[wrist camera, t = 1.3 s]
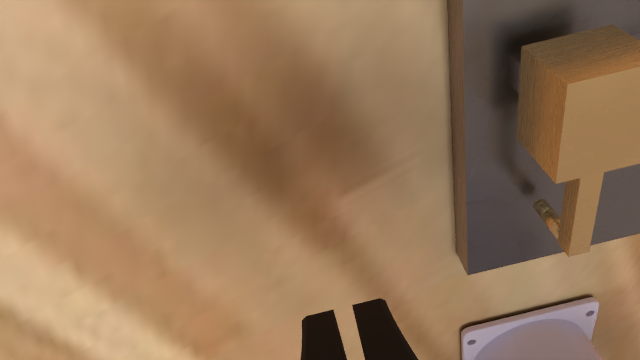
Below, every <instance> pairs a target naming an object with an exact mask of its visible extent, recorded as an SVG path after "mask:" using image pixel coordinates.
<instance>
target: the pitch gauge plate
mask: <svg viewBox="0 0 640 360" xmlns="http://www.w3.org/2000/svg"><path fill="white" fill-rule="evenodd" d="M447 2H448V30H449V58H450V85H451V113H452V141H453V168H454V196H455V224H456V252H457V255H458V257H459V259H460V261H461V263H462V265H463V267H464V269H465V271H466V273H467V275H470V274H474V273H479V272H483V271H487V270H491V269H495V268H499V267H503V266H507V265H512V264H516V263H520V262H524V261H528V260H532V259H536V258H540V257H544V256H549V255H553V254H557V253H561V252H564V250H563V249H562V248H561V246H560V245H559V244H558V240H557V239H556V237H555V236H554V235H553V233H552V232H551V231H550V229H549V228H548V227H547V225H546V224H545V223H544V221H543V220H542V219H541V217H540V216H539V215H538V213H537V212H536V211H535V209H534V208H533V204H534V203H535V202H536V201H537V200H539V199H545V200H546V201H547V202H548V203H549V204H550V206H551V207H552V208H553V209H554V211H555V212H556V213H557V214H558V216H559V217H560V218H561V212H562V205H563V197H564V190H565V182H562V183H557V184H555V183H554V181H553V180H552V179H551V178H550V177H549V176H548V174H547V173H546V172H545V171H544V170H543V169H542V167H541V166H540V165H539V164H538V163H537V162H536V160H535V159H534V158H533V157H532V156H531V155H530V154H529V152H528V151H527V150H526V149H525V148H524V147H523V145H522V144H521V143H520V142H519V141H518V140H517V138H516V137H517V119H518V101H519V83H520V65H521V47H522V46H524V45H528V44H532V43H537V42H541V41H545V40H549V39H553V38H557V37H561V36H566V35H570V34H574V33H578V32H582V31H586V30H590V29H595V28H599V27H603V26H607V25H611V24H612V25H614V26H616V27H618V28H619V29H621V30H623V31H625V32H626V33H628V34H630V35H631V36H633V37H635V38H637V39H638V40H640V0H447ZM639 233H640V164H636V165H632V166H628V167H623V168H619V169H615V170H611V171H607V172H604V175H603V181H602V186H601V191H600V196H599V202H598V207H597V212H596V218H595V223H594V228H593V233H592V239H591V244H590V245H594V244H598V243H602V242H606V241H610V240H614V239H619V238H623V237H627V236H631V235H635V234H639Z"/></svg>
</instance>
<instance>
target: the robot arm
mask: <svg viewBox="0 0 640 360" xmlns="http://www.w3.org/2000/svg"><path fill="white" fill-rule="evenodd" d="M352 306H353V310H354V314H355V319H356V323H357V327H358V331H359V336H360V340H361V344H362V348H363V353H364V357H365V360H418V358H417V357H416V355H415V354H414V352H413V351H412V349H411V348H410V346H409V344H408V343H407V341H406V340H405V338H404V336H403V335H402V333H401V331H400V329H399V328H398V326H397V324H396V322H395V320H394V318H393V316H392V314H391V312H390V310H389V308H388V306H387V303H386V301H385V300H383V299H380V298H379V299H375V300H371V301H367V302H363V303H359V304H355V305H352ZM598 309H599V303H598V301H597V300H596V299H595V298H592V297H590V298H585V299H581V300H577V301H573V302H569V303H564V304H560V305H556V306H552V307H548V308H544V309H540V310H536V311H532V312H527V313H523V314H519V315H515V316H511V317H507V318H503V319H499V320H495V321H491V322H486V323H482V324H478V325H474V326H470V327H467V328H465V329H464V330H463V331H462V332H461V351H462V360H603V359H602V358H601V356H600V355H599V353H598V352H597V350H596V349H595V347H594V346H593V344H592V343H591V339H592V335H593V331H594V326H595V322H596V317H597V313H598ZM301 360H347V358H346V354H345V351H344V347H343V343H342V340H341V336H340V332H339V329H338V325H337V321H336V318H335V314H334V310H330V311H326V312H322V313H318V314H313V315H309V316H306V317H305V318H304V319H303V320H302V352H301Z"/></svg>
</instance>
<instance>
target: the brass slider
mask: <svg viewBox="0 0 640 360" xmlns="http://www.w3.org/2000/svg"><path fill="white" fill-rule="evenodd" d="M516 138H517V140H518V141H519V142H520V143H521V144H522V145H523V147H524V148H525V149H526V150H527V151H528V152H529V154H530V155H531V156H532V157H533V158H534V159H535V160H536V162H537V163H538V164H539V165H540V166H541V167H542V169H543V170H544V171H545V172H546V173H547V174H548V176H549V177H550V178H551V179H552V180H553V181H554V183H555V184H557V183H562V182H565V190H564V197H563V205H562V212H561V218H560V217H559V216H558V214H557V213H556V212H555V211H554V209H553V208H552V207H551V206H550V204H549V203H548V202H547V201H546V200H545V199H539V200H537V201H536V202H535V203H534V204H533V208H534V209H535V211H536V212H537V213H538V215H539V216H540V217H541V219H542V220H543V221H544V223H545V224H546V225H547V227H548V228H549V229H550V231H551V232H552V233H553V235H554V236H555V237H556V239H557V240H558V244H559V245H560V246H561V248H562V249H563V250H564V252H565V253H566V254H567V256H568V257H569V256H573V255H577V254H582V253H586V252H589V249H590V244H591V239H592V233H593V228H594V223H595V218H596V212H597V207H598V202H599V196H600V191H601V186H602V181H603V175H604V172H607V171H611V170H615V169H619V168H623V167H628V166H632V165H636V164H640V40H638V39H637V38H635V37H633V36H631V35H630V34H628V33H626V32H625V31H623V30H621V29H619V28H618V27H616V26H614V25H612V24H611V25H607V26H603V27H599V28H595V29H590V30H586V31H582V32H578V33H574V34H570V35H566V36H561V37H557V38H553V39H549V40H545V41H541V42H537V43H532V44H528V45H524V46H522V47H521V65H520V83H519V101H518V119H517V137H516Z"/></svg>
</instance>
